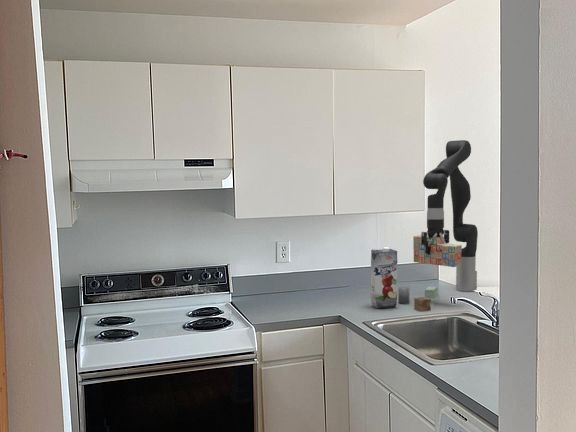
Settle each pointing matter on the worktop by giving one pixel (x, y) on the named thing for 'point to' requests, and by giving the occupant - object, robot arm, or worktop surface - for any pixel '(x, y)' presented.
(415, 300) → the walnut cube
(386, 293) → the juice carton
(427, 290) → the sage brick
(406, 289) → the charcoal cylinder
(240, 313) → the worktop surface
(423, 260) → the stack of blocks
